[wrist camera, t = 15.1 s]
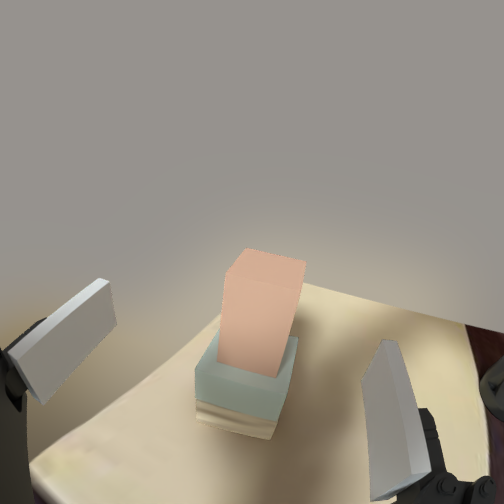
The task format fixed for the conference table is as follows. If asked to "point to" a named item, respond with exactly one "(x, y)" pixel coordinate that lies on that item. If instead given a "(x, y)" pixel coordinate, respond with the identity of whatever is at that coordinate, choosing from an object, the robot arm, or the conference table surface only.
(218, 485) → the conference table surface
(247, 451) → the conference table surface
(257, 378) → the tower upper block
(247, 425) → the tower base block
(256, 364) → the tall block
